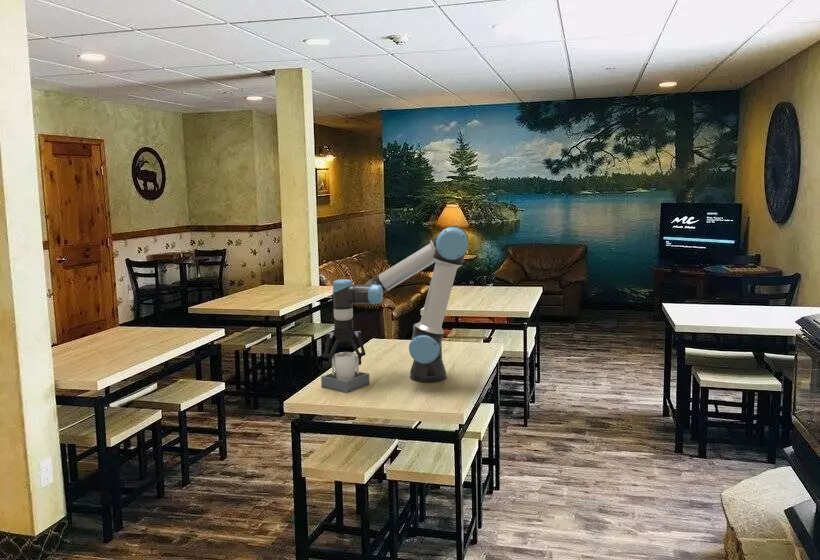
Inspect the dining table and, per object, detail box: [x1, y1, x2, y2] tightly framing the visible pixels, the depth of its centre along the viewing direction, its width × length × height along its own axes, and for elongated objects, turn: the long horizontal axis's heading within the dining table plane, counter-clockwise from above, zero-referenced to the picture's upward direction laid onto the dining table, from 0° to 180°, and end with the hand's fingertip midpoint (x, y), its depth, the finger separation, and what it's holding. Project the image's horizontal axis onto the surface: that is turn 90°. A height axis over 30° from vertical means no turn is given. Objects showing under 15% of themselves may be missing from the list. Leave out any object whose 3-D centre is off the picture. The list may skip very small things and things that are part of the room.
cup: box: [333, 351, 357, 381], centre depth 272 cm, size 9×9×12 cm
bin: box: [320, 370, 370, 394], centre depth 272 cm, size 14×14×4 cm
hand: (345, 373), depth 271 cm, fingers open, 9 cm apart
